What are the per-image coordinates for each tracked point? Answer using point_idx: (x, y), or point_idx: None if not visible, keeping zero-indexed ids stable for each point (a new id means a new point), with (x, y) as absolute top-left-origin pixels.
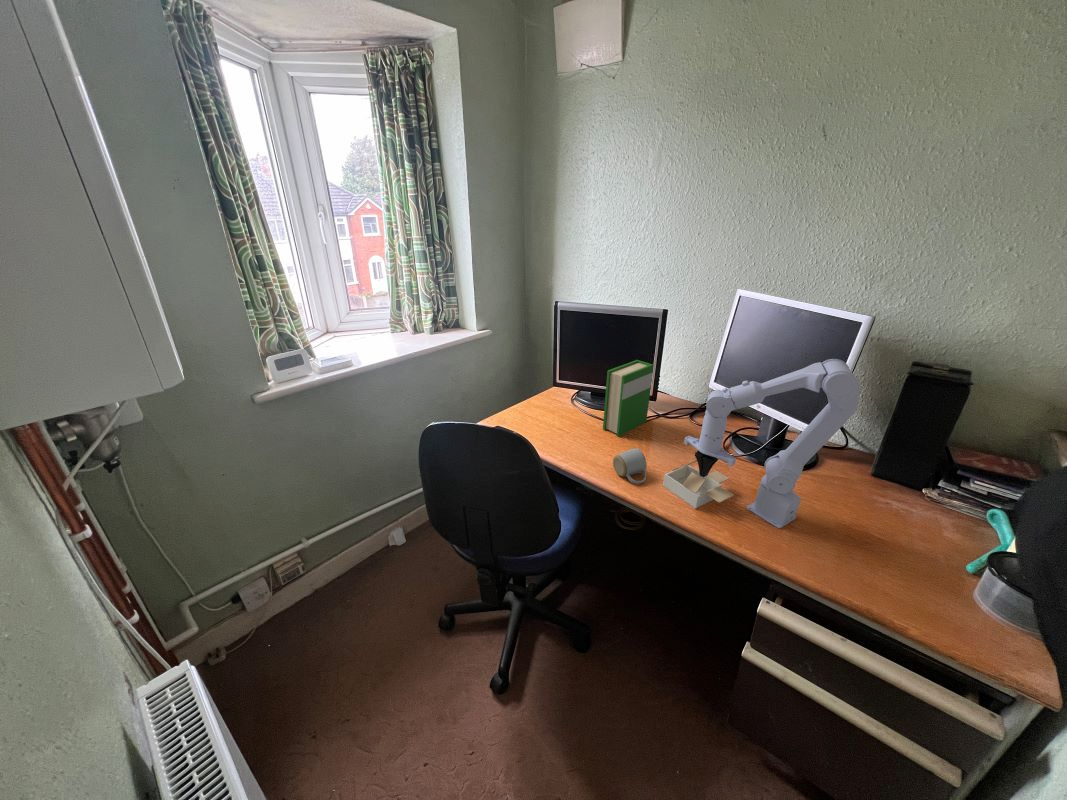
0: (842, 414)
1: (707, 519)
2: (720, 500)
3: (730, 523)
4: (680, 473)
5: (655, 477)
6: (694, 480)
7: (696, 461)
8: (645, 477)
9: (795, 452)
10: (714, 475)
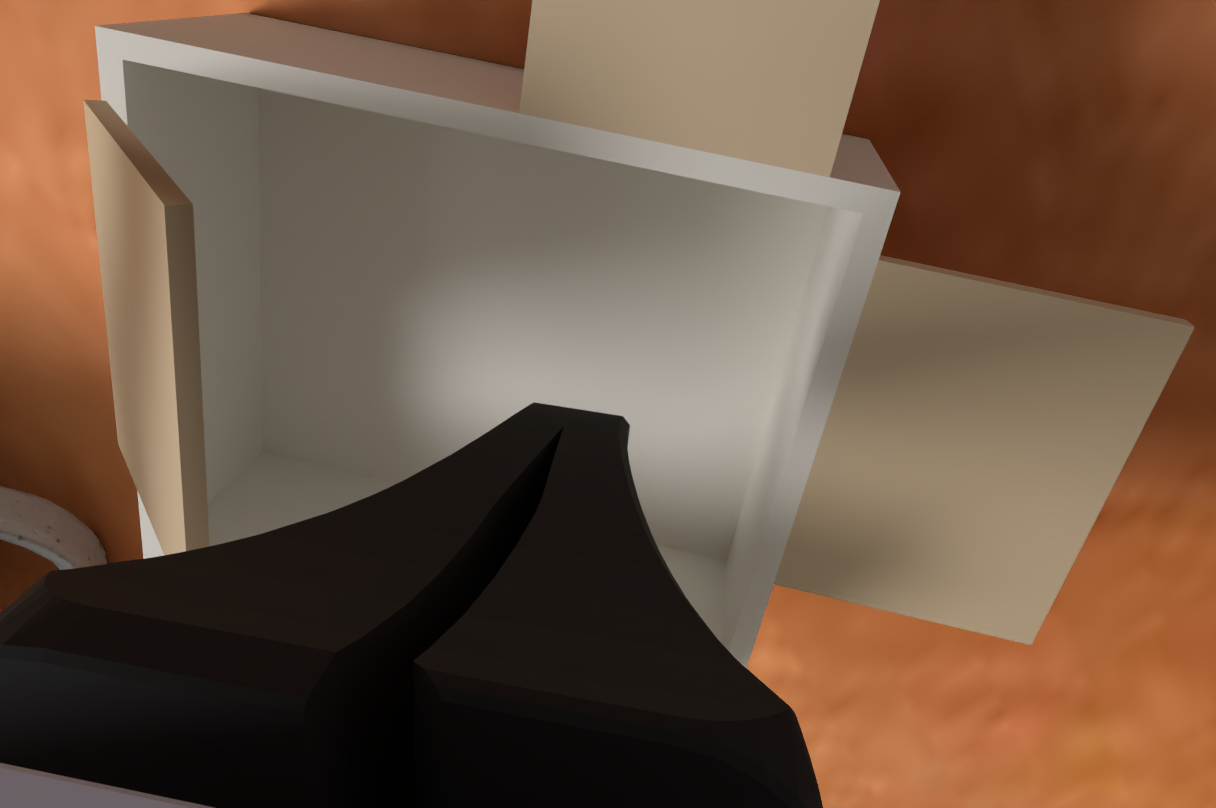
0: None
1: (921, 637)
2: (1031, 604)
3: (1176, 543)
4: (201, 216)
5: (82, 365)
6: None
7: (191, 249)
8: (56, 557)
9: None
10: None
